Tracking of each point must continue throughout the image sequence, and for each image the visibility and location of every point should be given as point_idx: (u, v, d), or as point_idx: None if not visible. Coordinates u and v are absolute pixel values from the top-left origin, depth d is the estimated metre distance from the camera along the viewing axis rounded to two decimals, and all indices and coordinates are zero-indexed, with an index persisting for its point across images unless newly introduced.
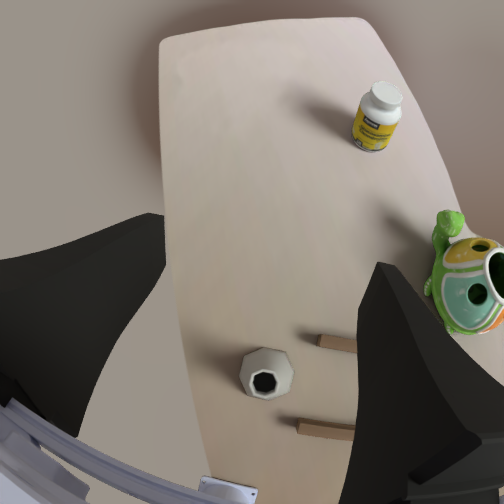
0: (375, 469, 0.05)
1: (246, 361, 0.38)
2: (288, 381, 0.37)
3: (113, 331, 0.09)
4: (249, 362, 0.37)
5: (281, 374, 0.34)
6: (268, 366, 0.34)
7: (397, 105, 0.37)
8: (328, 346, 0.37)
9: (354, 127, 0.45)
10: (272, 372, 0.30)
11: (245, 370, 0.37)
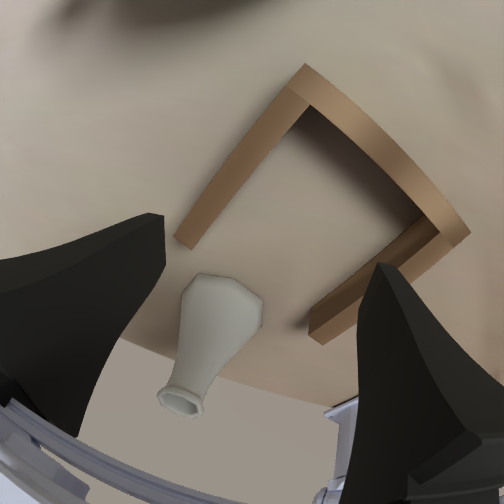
0: (375, 469, 0.05)
1: None
2: (236, 306, 0.23)
3: (113, 331, 0.09)
4: None
5: (204, 336, 0.21)
6: (179, 351, 0.21)
7: None
8: (197, 237, 0.20)
9: None
10: (165, 392, 0.18)
11: None
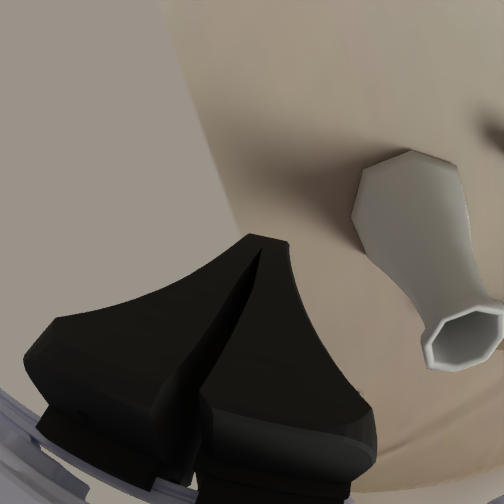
0: None
1: (377, 193, 0.14)
2: None
3: None
4: (389, 203, 0.13)
5: None
6: (456, 242, 0.10)
7: None
8: None
9: None
10: (498, 312, 0.07)
11: (376, 219, 0.14)
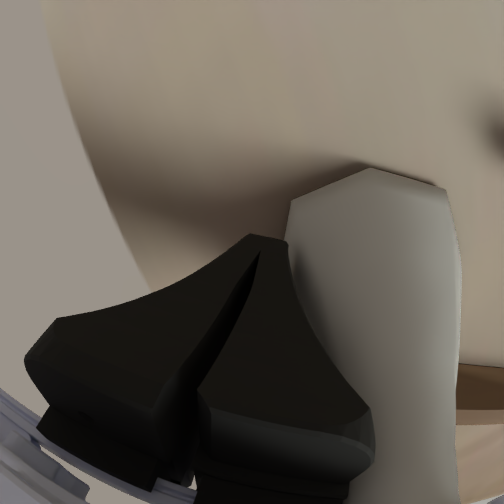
0: None
1: (303, 246, 0.09)
2: None
3: None
4: (318, 269, 0.08)
5: (458, 353, 0.06)
6: (425, 363, 0.05)
7: None
8: None
9: None
10: None
11: (301, 288, 0.09)
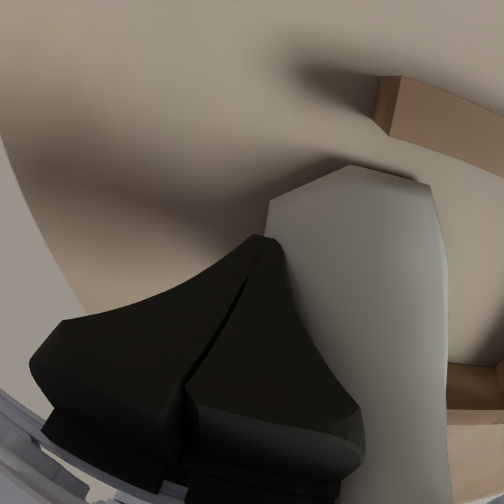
0: None
1: (283, 247, 0.09)
2: None
3: None
4: (299, 272, 0.08)
5: (446, 353, 0.06)
6: (413, 368, 0.05)
7: None
8: (433, 143, 0.06)
9: None
10: None
11: None
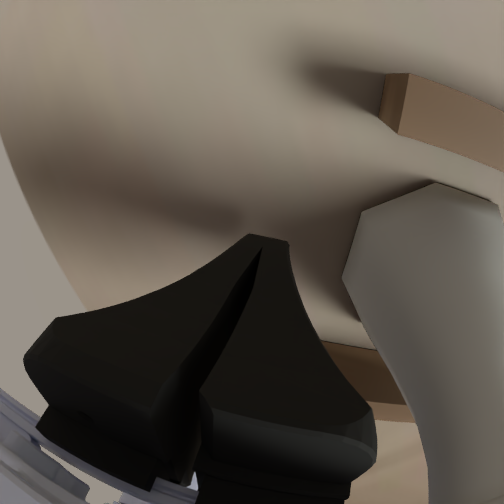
0: None
1: (381, 257, 0.09)
2: None
3: None
4: (401, 281, 0.08)
5: None
6: (503, 364, 0.05)
7: None
8: (441, 141, 0.06)
9: None
10: None
11: (377, 298, 0.09)
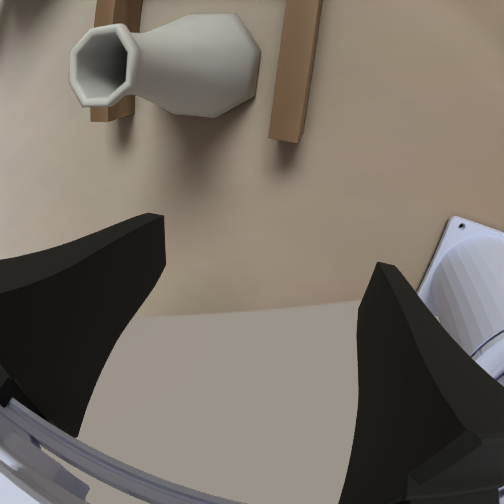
0: (375, 469, 0.05)
1: (167, 109, 0.17)
2: (198, 17, 0.13)
3: (113, 331, 0.09)
4: (157, 103, 0.15)
5: None
6: (124, 64, 0.12)
7: None
8: None
9: None
10: (73, 56, 0.08)
11: (179, 108, 0.16)
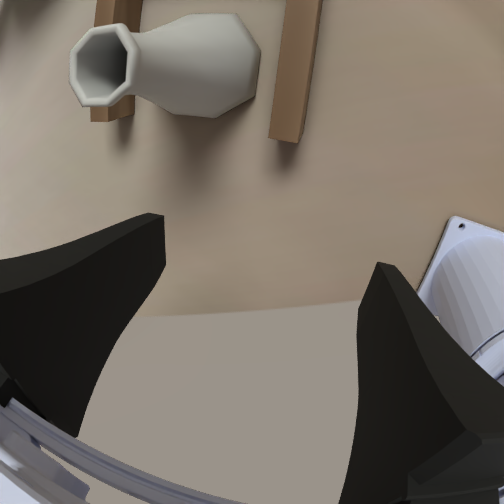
0: (375, 469, 0.05)
1: (167, 109, 0.17)
2: (198, 17, 0.13)
3: (113, 331, 0.09)
4: (157, 103, 0.15)
5: None
6: (124, 64, 0.12)
7: None
8: None
9: None
10: (73, 55, 0.08)
11: (179, 108, 0.16)
